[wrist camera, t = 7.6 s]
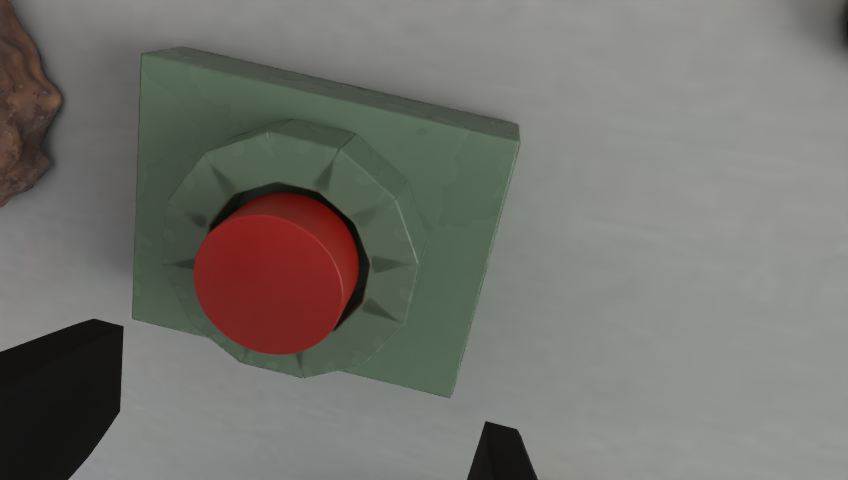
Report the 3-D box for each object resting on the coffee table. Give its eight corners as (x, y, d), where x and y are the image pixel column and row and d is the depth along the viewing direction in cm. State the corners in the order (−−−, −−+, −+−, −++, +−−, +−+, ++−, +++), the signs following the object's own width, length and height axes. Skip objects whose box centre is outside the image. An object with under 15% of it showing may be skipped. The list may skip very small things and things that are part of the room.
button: (218, 303, 17) (187, 335, 16) (229, 176, 16) (198, 197, 14) (347, 335, 17) (330, 371, 15) (371, 210, 16) (355, 235, 14)
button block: (166, 288, 21) (95, 350, 18) (180, 45, 18) (98, 58, 15) (456, 360, 21) (445, 438, 17) (519, 124, 18) (522, 158, 14)
